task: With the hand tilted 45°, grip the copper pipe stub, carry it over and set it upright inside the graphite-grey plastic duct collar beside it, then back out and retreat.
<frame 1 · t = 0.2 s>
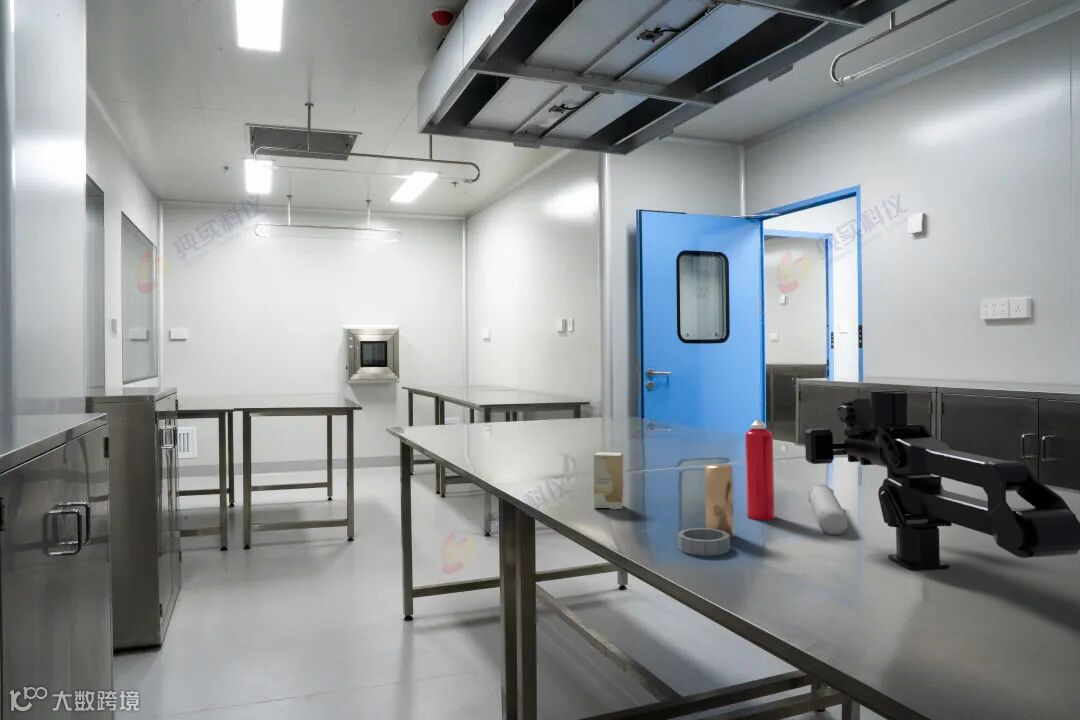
hand: (832, 439, 137), 17 cm above the table, tool horizontal, fingers open, 9 cm apart
tube: (827, 522, 141), on the table
bottle: (760, 517, 145), on the table
duct collar: (703, 548, 123), on the table
copper stub: (720, 535, 132), on the table
skincare box: (609, 508, 157), on the table
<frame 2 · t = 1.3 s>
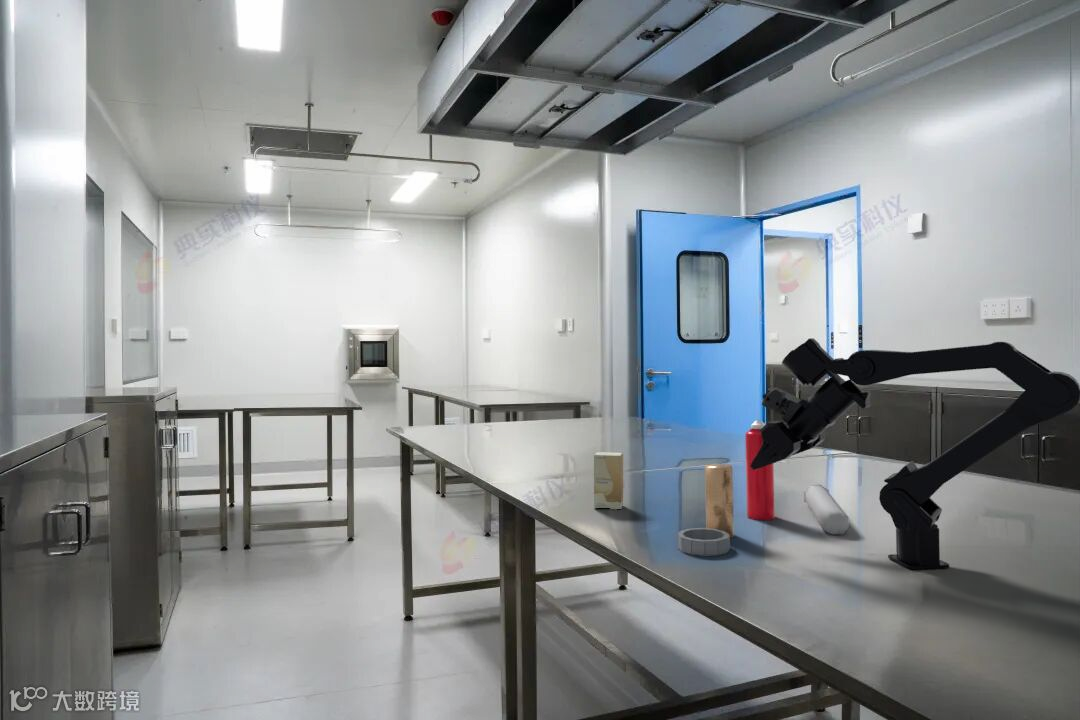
hand: (761, 464, 127), 14 cm above the table, tool tilted 45°, fingers open, 9 cm apart
nothing on the table moved.
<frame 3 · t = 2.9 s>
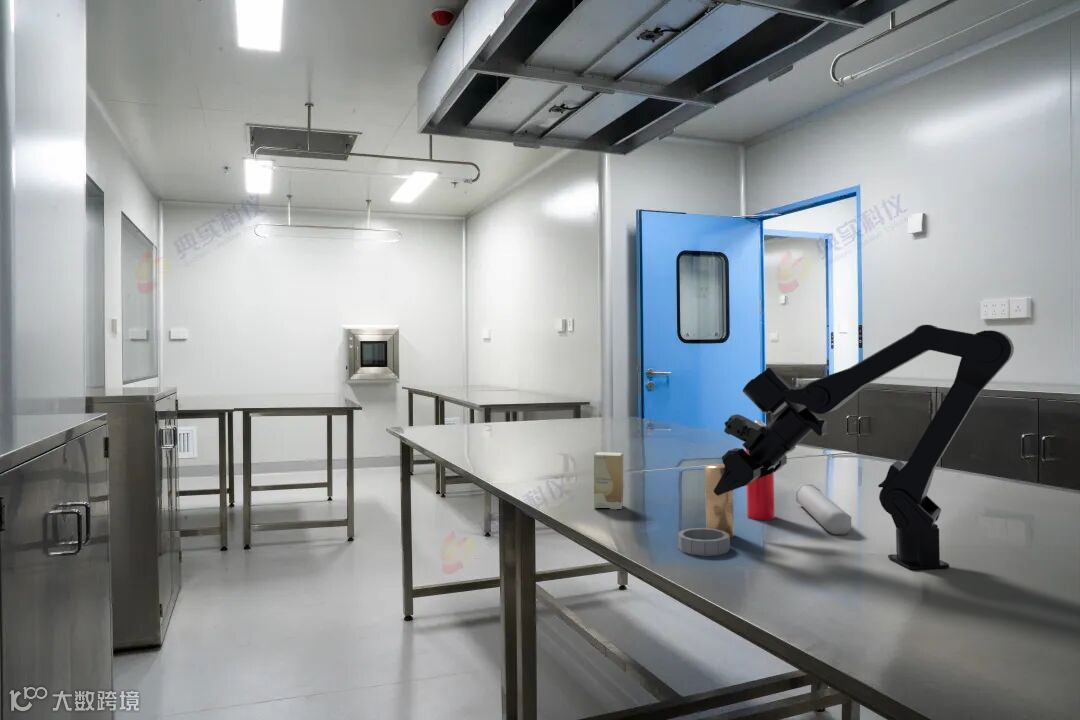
hand: (725, 488, 131), 9 cm above the table, tool tilted 45°, fingers open, 9 cm apart
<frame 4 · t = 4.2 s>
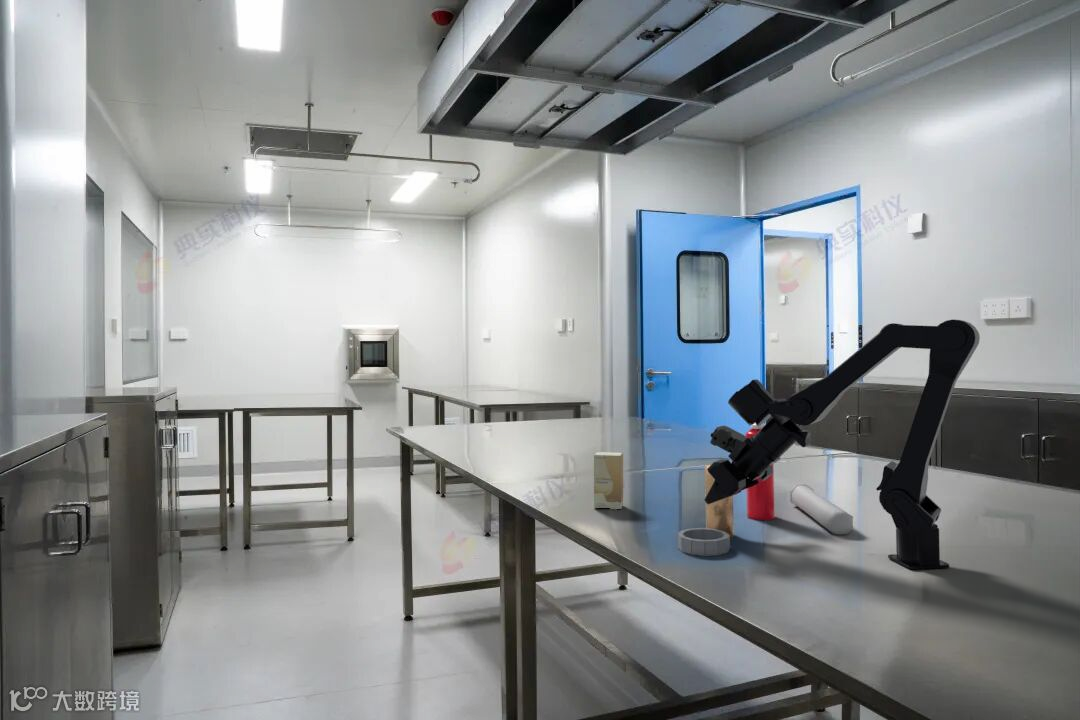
hand: (712, 499, 132), 7 cm above the table, tool tilted 45°, fingers closed on copper stub, 5 cm apart
copper stub: (720, 535, 132), on the table, touching gripper
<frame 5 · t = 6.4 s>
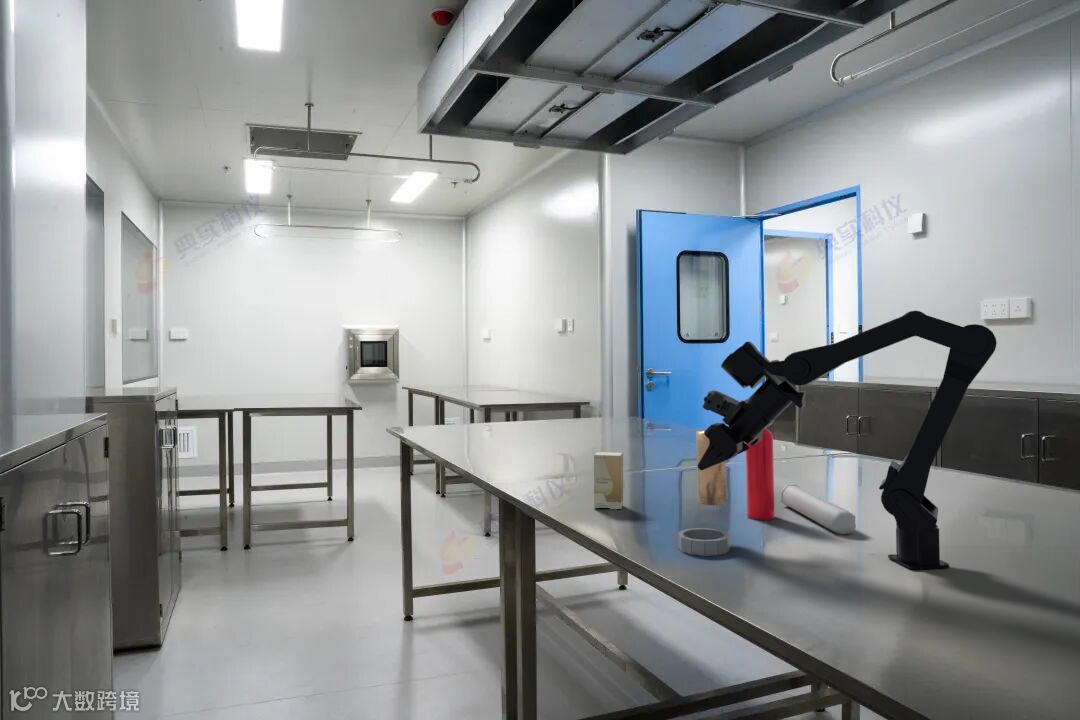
hand: (703, 466, 129), 13 cm above the table, tool tilted 45°, fingers closed on copper stub, 5 cm apart
copper stub: (712, 502, 129), point 7 cm above the table, touching gripper
when the fingers open (8 cm above the table, at t = 8.8 s): copper stub drops 1 cm, resting in duct collar.
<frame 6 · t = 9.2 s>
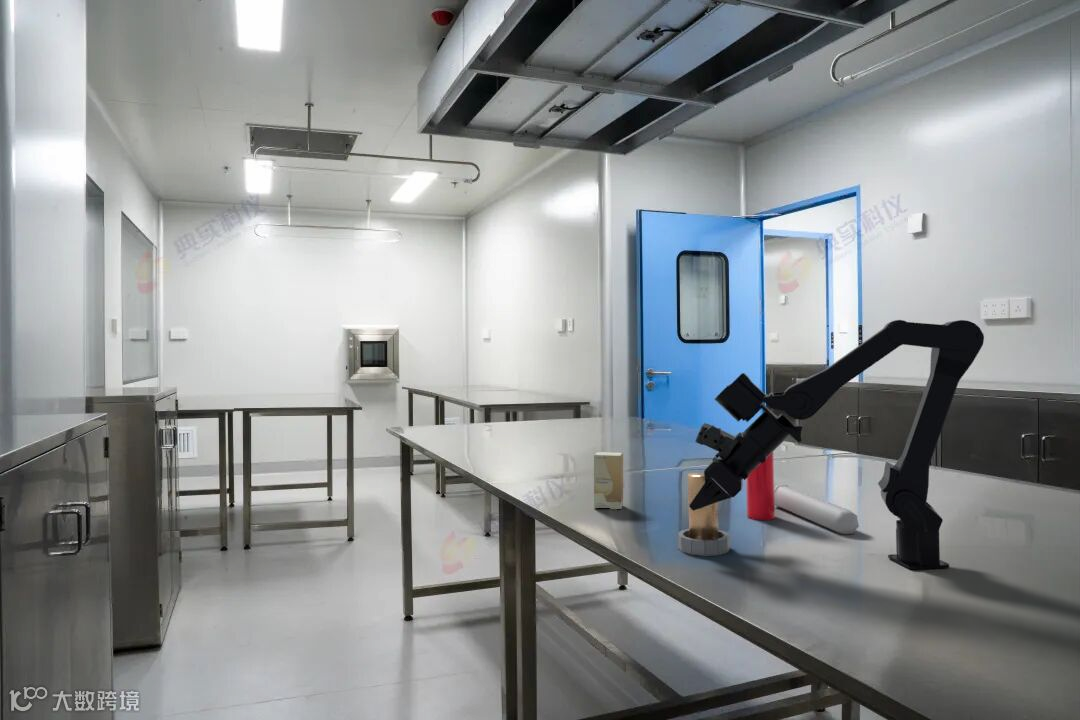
hand: (694, 502, 124), 8 cm above the table, tool tilted 45°, fingers open, 9 cm apart
copper stub: (704, 548, 123), resting in duct collar
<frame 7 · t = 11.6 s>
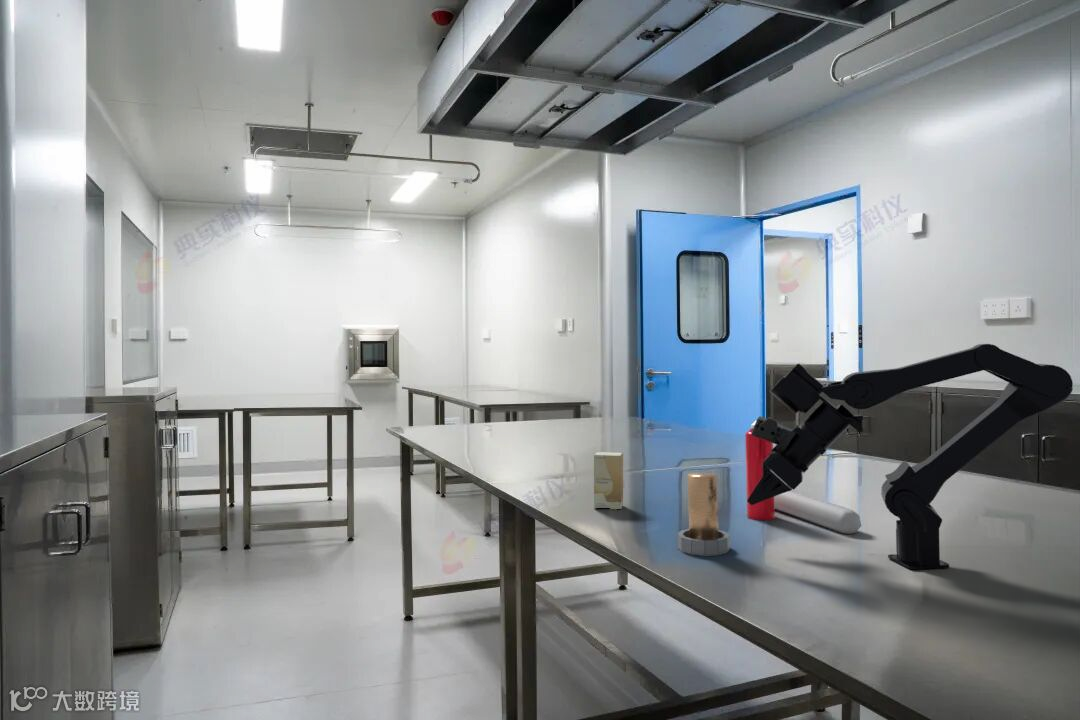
hand: (752, 498, 121), 9 cm above the table, tool tilted 45°, fingers open, 9 cm apart
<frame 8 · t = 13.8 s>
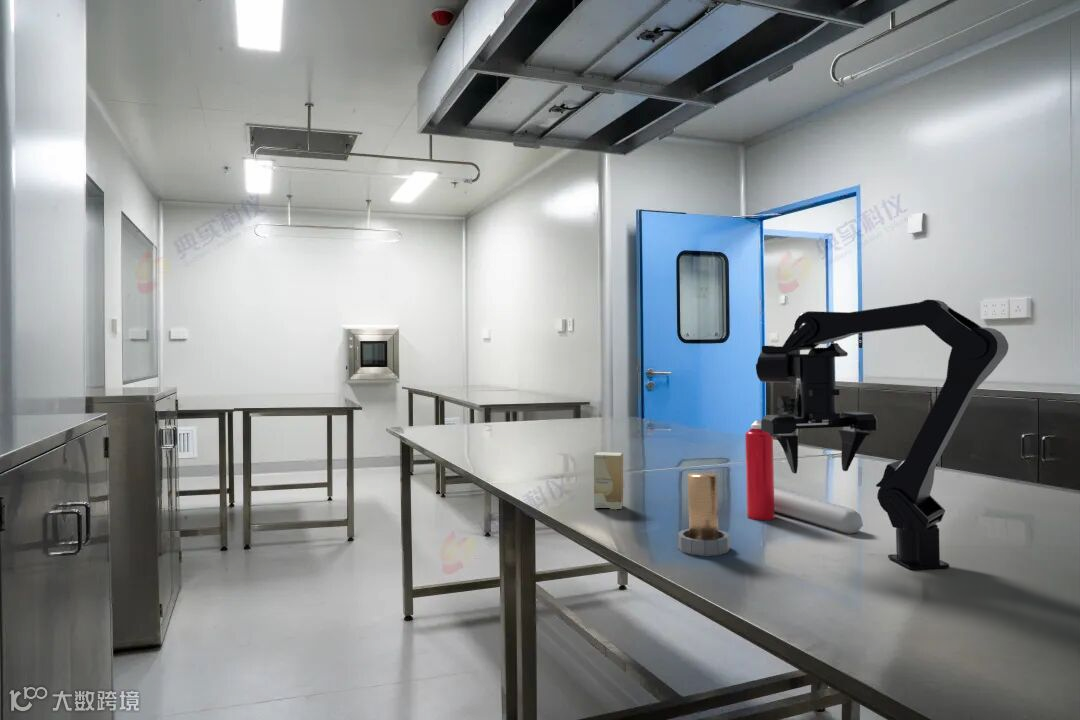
hand: (819, 471, 123), 13 cm above the table, tool pointing down, fingers open, 9 cm apart
at the end: copper stub 0.1 cm off-centre on the duct collar, point 0.0 cm above the duct collar's base; copper stub tilted 0°; the gripper is holding nothing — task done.
